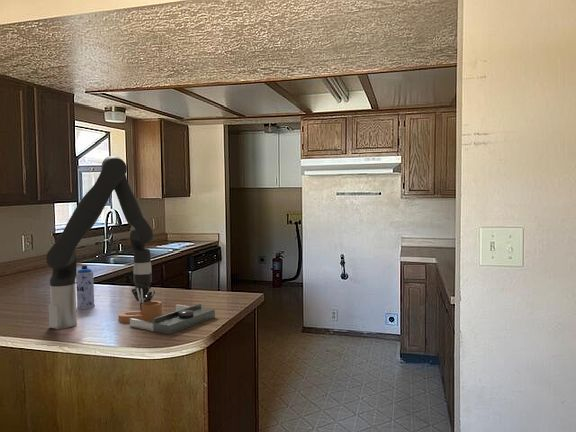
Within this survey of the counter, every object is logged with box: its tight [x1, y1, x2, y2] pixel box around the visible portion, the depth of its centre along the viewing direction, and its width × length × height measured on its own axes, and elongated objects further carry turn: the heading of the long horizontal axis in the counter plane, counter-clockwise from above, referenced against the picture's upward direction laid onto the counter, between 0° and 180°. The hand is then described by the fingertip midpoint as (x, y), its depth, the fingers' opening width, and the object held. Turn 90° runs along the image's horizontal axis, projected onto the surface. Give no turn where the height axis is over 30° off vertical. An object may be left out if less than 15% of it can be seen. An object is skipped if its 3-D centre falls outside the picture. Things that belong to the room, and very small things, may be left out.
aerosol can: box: [75, 265, 96, 310], centre depth 208 cm, size 8×8×20 cm
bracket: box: [118, 300, 163, 324], centre depth 186 cm, size 18×8×7 cm, turn 94°
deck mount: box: [129, 303, 216, 336], centre depth 182 cm, size 26×22×5 cm
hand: (143, 310), depth 192 cm, fingers closed
